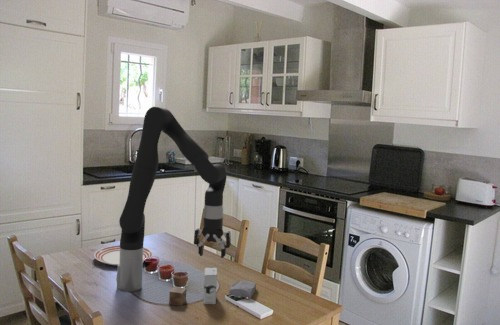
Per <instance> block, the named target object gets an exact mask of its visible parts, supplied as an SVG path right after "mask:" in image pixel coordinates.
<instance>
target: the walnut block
mask: <svg viewBox="0 0 500 325" xmlns="http://www.w3.org/2000/svg"><path fill="white" fill-rule="evenodd" d="M186 301H187V287H186V288H185V287H180V286H173V287H172V289H170V290H169V302H168V303H169V305H174V306H175V305H176V306H179V307H180V306H183V305H184V304H185V303H186Z"/></svg>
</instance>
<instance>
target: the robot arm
mask: <svg viewBox="0 0 500 325" xmlns="http://www.w3.org/2000/svg"><path fill="white" fill-rule="evenodd" d="M161 133H164V134H165V135H166V136H168V137H169V138H170V139H171V140H172V141H173V142H174V143H175V145H176V147H177V148H178V150H179V151H180V153H181V154H182V155H183V157H184V158H185V159H187V161H188V162H189V163H190V164H191V165H192V166H194V168H195V170H196V171H197V173H198V175H199V176H200V178H201V179H202V180H203V181H204V182H205V183H207V184H208V187H207V189H206V190H205V191H204V192H205V193H204V206H203V213H202V214H203V220H202V221H203V222H202V229H200V228H196V229H195V230H194V237H193V238H194V239H193V244H194V246H195V245H196V246H198V252H197V253H198V255H199V256H200V257H202V256H203V255H204V244H205V242H208V243H211V242H212V243H217V244H218V245H219V246H220V247H221V251H220V252H221V253H220V258H221V259H224V258H225V256H226V255H227V254H226V253H227V249H229V248H230V247H231V245H232V240H231V239H232V238H231V231H223V225H224V207H223V205H224V201H223V200H224V192H225V189H226V187H225V186H226V182H227V171H226V168H225V167H224V166H223V165H222V164H220V163H216V164H213V163H212V162H211V161H210V160H209V158H210V157H209V155H208V153H207V152H206V151H205V150H204V149H203V148H202V147H201V146H200V145H199V144H198V143H197V142H196V141H195V140H194V139H193V138H192V137H191V136H190V135H189V134H188V133H187V132H186V130H185V129H184V128H183V127H182V126H181V124H180V122H178V120H177V119H176V117H175V115H174V114H173V113H172V111H170V110H169V109H167V108H164V107H160V106H151V107H150V108H149V109H148V110H147V111H146V112H145V115H144V118H143V125H142V131H141V137H140V142H139V146H138V148H137V149H138V150H137V154H136V158H135V160H134V164H133V168H132V172H131V175H130V176H131V177H130V182H129V186H128V187H129V189H128V194H127V198H126V201H125V204H124V208H123V210H122V212H121V214H120V217H119V227H120V229H121V235H120V239H119V245H120V264H119V265H118V266H116V268H117V271H116V289H118V290H120V291H121V292H128V293H129V292H137V291H140V290H141V289H142V288H143V268H144V267H143V265H144V264H143V263H144V262H143V247H144V241H145V231H146V230H145V227H146V226H145V225H146V224H145V223H146V218H145V208H146V204H147V199H148V197H149V195H150V192H151V191H152V188H153V185H154V182H155V180H156V176H157V173H158V169H159V163H160V162H159V152H158V148H159V146H158V145H159V140H160V137H161ZM201 234H202V236H203V238H202V239H201V241H200V235H201ZM223 237H224V238H225V241H226V242H224V239H223Z"/></svg>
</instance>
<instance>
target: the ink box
mask: <svg viewBox="0 0 500 325" xmlns="http://www.w3.org/2000/svg"><path fill="white" fill-rule="evenodd" d="M217 277H218V268H217V267H204V277H203V304H204V305H216V304H217V303H216V302H217V301H216V300H217V280H218V278H217Z"/></svg>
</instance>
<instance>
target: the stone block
mask: <svg viewBox="0 0 500 325" xmlns="http://www.w3.org/2000/svg"><path fill="white" fill-rule="evenodd" d="M256 289H257V282H253V281H249V280H238V281H235V282H234V283H232V285H231V286H230V288H229V291H228V292H229V295H230V296H231V295H236V296H242V297H248V298H253V295H254V293H255V292H256Z"/></svg>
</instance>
